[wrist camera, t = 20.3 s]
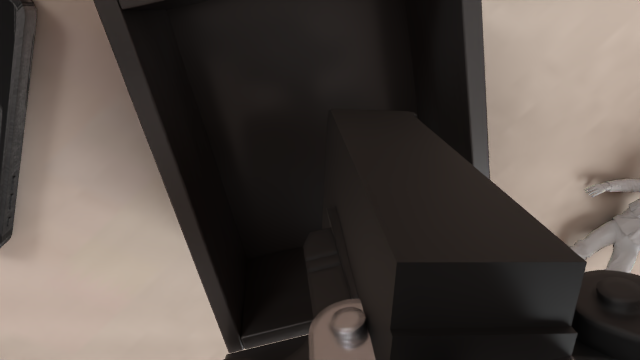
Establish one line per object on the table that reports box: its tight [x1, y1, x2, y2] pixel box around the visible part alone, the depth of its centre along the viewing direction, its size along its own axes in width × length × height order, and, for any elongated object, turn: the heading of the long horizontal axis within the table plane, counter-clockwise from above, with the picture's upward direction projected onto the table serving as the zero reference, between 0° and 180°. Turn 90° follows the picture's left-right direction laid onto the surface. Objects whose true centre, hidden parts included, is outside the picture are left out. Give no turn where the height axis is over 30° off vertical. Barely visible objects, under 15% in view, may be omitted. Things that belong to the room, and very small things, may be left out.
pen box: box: [93, 0, 490, 353], centre depth 21 cm, size 17×14×8 cm
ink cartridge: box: [322, 109, 587, 360], centre depth 9 cm, size 5×2×8 cm, turn 177°
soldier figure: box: [570, 179, 640, 273], centre depth 28 cm, size 8×5×12 cm
